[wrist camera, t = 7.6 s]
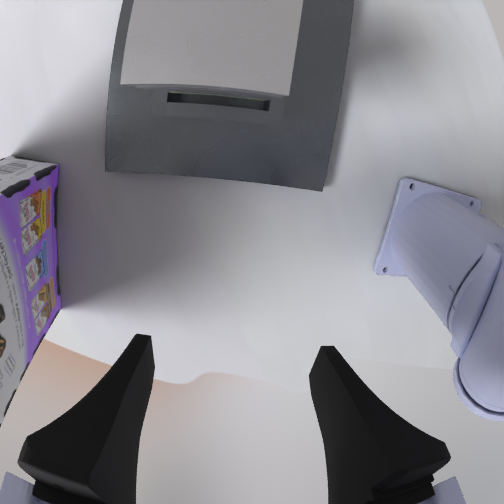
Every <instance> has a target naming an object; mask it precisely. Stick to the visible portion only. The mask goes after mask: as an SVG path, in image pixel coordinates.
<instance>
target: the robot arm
mask: <svg viewBox="0 0 504 504" xmlns="http://www.w3.org/2000/svg"><path fill="white" fill-rule="evenodd" d="M410 184H413V186H412V188H410ZM470 202H471V203H470ZM481 205H482V204H481V201H480V200H478V199H476V198H473V197H470V196H467V195H464V194H461V193H458V192H454V191H451V190H448V189H445V188H442V187H438V186H435V185H431V184H428V183H424V182H421V181H417V180H413V179H410V178H402V179H401V180H400V183H399V187H398V190H397V194H396V198H395V201H394V205H393V208H392V212H391V215H390V218H389V222H388V225H387V228H386V231H385V234H384V237H383V241H382V244H381V247H380V250H379V253H378V256H377V258H376V261H375V264H374V267H373V270H374V272H375V273H376V274H378V275H391V276H405V277H408V279H409V280H410V281H411V282H412V284H413V285H414V286H415V287H416V289H417V290H418V291H419V292H420V294H421V295H422V296H423V297H424V299H425V300H426V301H427V302H428V304H429V305H430V306H431V308H432V309H433V310H434V312H435V313H436V314H437V316H438V317H439V318H440V320H441V321H442V322H443V324H444V325H445V326H446V328H447V329H448V330H449V332H450V333H451V335H452V341H451V344H450V346H451V348H452V349H453V351H454V352H455V354H456V355H457V357H458V359H457V361H456V363H455V366H454V371H453V381H454V386H455V389H456V391H457V394H458V396H459V397H460V399H461V401H462V402H463V403H464V404H465V406H466V407H467V408H468V409H470V410H471V411H472V412H473V413H475V414H476V415H479V416H480V417H482V418H485V419H489V420H496V421H504V229H503V228H502V227H500V226H499V225H497V224H496V223H494V222H493V221H491V220H490V219H488V218H487V217H485V216H484V215H482V214H481V213H479V212H480V209H481ZM385 267H386V269H385V270H383V269H384V268H385ZM154 370H155V364H154V357H153V349H152V340H151V336H150V335H142V334H136V335H135V336H134V337H133V339H132V340H131V342H130V343H129V345H128V346H127V348H126V349H125V350H124V352H123V353H122V354H121V356H120V357H119V358H118V360H117V361H116V362H115V363H114V365H113V366H112V367H111V369H110V370H109V371H108V372H107V373H106V374H105V376H104V377H103V378H102V379H101V380H100V381H99V382H98V384H97V385H96V386H95V387H94V388H93V389H92V390H91V391H90V392H89V393H88V394H87V395H86V396H85V397H83V398H82V399H81V400H80V401H79V402H78V403H77V404H76V405H74V406H73V407H72V408H71V409H69V410H68V411H67V412H66V413H64V414H63V415H62V416H60V417H59V418H57V419H56V420H54V421H53V422H52V423H50V424H49V425H47V426H45V427H43V428H42V429H40V430H38V431H36V432H34V433H33V434H31V435H29V436H27V438H26V440H25V442H24V444H23V446H22V450H21V452H20V456H19V459H18V464H19V466H20V467H21V468H22V469H23V470H24V471H25V472H26V473H28V474H29V475H30V476H31V477H33V478H34V479H35V480H36V481H35V485H33V484H31V483H29V482H27V481H25V480H23V479H21V478H19V477H17V476H15V475H13V474H11V473H9V472H6V473H5V476H4V480H3V483H2V487H1V490H0V504H136V475H137V462H138V451H139V441H140V435H141V430H142V426H143V421H144V417H145V413H146V409H147V405H148V402H149V398H150V394H151V390H152V383H153V377H154ZM309 381H310V389H311V396H312V400H313V404H314V407H315V411H316V414H317V418H318V422H319V426H320V430H321V434H322V438H323V443H324V449H325V457H326V466H327V477H328V504H466V503H465V500H464V497H463V494H462V492H461V489H460V486H459V484H458V481H457V479H456V477H455V476H454V477H452V478H450V479H448V480H445V481H443V482H441V483H439V484H437V485H435V486H433V487H432V484H431V482H433V481H434V478H433V475H432V474H433V473H435V472H436V471H438V470H439V469H441V468H442V467H443V466H444V465H445V464H447V463H448V462H449V461H450V459H451V456H450V453H449V451H448V449H447V447H446V444H445V443H444V442H443V441H441V440H438V439H436V438H434V437H432V436H430V435H428V434H426V433H425V432H423V431H421V430H419V429H418V428H416V427H414V426H413V425H411V424H410V423H408V422H407V421H406V420H404V419H403V418H402V417H400V416H399V415H397V414H396V413H395V412H394V411H392V410H391V409H390V408H389V407H388V406H387V405H385V404H384V403H383V402H382V401H381V400H380V399H379V398H378V397H377V396H376V395H375V394H374V393H373V392H372V391H371V390H370V389H369V388H368V387H367V385H366V384H365V383H364V382H363V381H362V380H361V379H360V378H359V376H358V375H357V374H356V373H355V372H354V370H353V369H352V368H351V367H350V366H349V364H348V363H347V362H346V361H345V359H344V358H343V357H342V355H341V354H340V353H339V352H338V350H337V349H336V348H335V347H334V346H321V347H320V350H319V352H318V355H317V357H316V360H315V362H314V364H313V367H312V369H311V372H310V374H309Z"/></svg>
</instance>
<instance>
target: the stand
mask: <svg viewBox="0 0 504 504" xmlns="http://www.w3.org/2000/svg"><path fill="white" fill-rule="evenodd" d="M133 3H134V0H123V3H122V8H121V12H120V17H119V22H118V28H117V33H116V39H115V45H114V51H113V58H112V66H111V74H110V83H109V93H108V105H107V120H106V143H105V172H133V173H152V174H169V175H183V176H195V177H207V178H218V179H228V180H238V181H247V182H255V183H264V184H272V185H280V186H287V187H294V188H301V189H308V190H315V191H321V192H322V191H323V186H324V182H325V177H326V172H327V167H328V162H329V157H330V152H331V147H332V142H333V137H334V131H335V126H336V120H337V115H338V109H339V103H340V97H341V91H342V85H343V79H344V72H345V65H346V59H347V52H348V44H349V37H350V29H351V21H352V12H353V3H354V0H303V6H302V12H301V19H300V26H299V33H298V39H297V46H296V53H295V59H294V66H293V72H292V79H291V85H290V91H289V96H284V97H282V99H277V100H275V99H273V100H266V101H260V100H252V99H244V98H236V97H226V96H215V95H201V94H184V93H170V92H163V91H154V90H147V89H145V88H136V86H130V85H121V84H120V82H121V73H122V65H123V58H124V51H125V44H126V38H127V33H128V27H129V22H130V17H131V12H132V7H133Z"/></svg>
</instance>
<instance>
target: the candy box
mask: <svg viewBox="0 0 504 504" xmlns="http://www.w3.org/2000/svg"><path fill="white" fill-rule="evenodd" d="M58 171H59V164H53V163H48V162H43V161H36V160H31V159H26V158H22V157H14V156H8V157H6V158H3V159H1V160H0V426H1V424H2V422H3V419H4V417H5V415H6V412H7V410H8V408H9V405H10V403H11V401H12V399H13V396H14V394H15V392H16V390H17V388H18V386H19V384H20V381H21V380H22V377H23V376H24V374H25V371H26V369H27V368H28V366H29V364H30V362H31V360H32V358H33V356H34V354H35V352H36V350H37V349H38V347H39V345H40V343H41V342H42V340H43V338H44V336H45V335H46V333H47V331H48V330H49V328H50V326H51V324H52V323H53V321H54V319H55V318H56V316H57V314H58V313H59V311H60V310H61V296H60V288H59V273H58V263H57V236H56V225H57V222H56V219H57V217H56V206H57V188H58Z"/></svg>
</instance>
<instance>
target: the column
mask: <svg viewBox="0 0 504 504" xmlns="http://www.w3.org/2000/svg"><path fill="white" fill-rule="evenodd" d="M302 6H303V0H134V3H133V7H132V12H131V17H130V22H129V27H128V33H127V38H126V44H125V51H124V58H123V65H122V73H121V82H120V84H121V85H130V86H136V88H145V89H147V90H154V91H163V92H170V93H184V94H201V95H215V96H226V97H236V98H244V99H252V100H260V101H266V100H273V99H275V100H277V99H282V97H284V96H289V91H290V85H291V79H292V72H293V66H294V59H295V53H296V46H297V39H298V33H299V26H300V19H301V12H302Z"/></svg>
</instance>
